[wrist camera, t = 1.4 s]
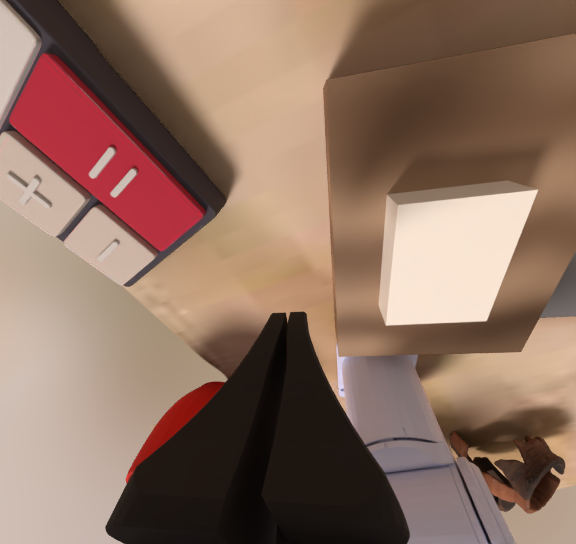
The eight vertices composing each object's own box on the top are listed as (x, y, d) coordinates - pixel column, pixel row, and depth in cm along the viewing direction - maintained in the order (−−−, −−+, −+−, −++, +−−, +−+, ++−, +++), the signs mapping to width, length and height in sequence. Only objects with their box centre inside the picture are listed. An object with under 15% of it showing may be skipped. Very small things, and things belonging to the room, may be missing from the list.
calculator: (121, 295, 19) (-133, 117, 13) (149, 266, 23) (-39, 115, 16) (215, 218, 15) (-90, -102, 9) (232, 197, 19) (24, -41, 12)
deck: (492, 320, 22) (520, 352, 19) (335, 327, 24) (338, 356, 21) (608, 36, 12) (707, 8, 9) (323, 88, 14) (326, 79, 11)
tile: (468, 300, 17) (486, 321, 15) (378, 305, 17) (385, 325, 16) (507, 180, 12) (538, 189, 11) (386, 194, 13) (398, 205, 12)
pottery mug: (446, 415, 31) (526, 479, 24) (495, 389, 34) (580, 438, 26) (442, 481, 35) (510, 555, 27) (487, 451, 37) (560, 512, 30)
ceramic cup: (167, 419, 36) (125, 509, 28) (181, 352, 28) (124, 454, 19) (249, 440, 38) (231, 531, 30) (285, 383, 29) (276, 490, 21)
